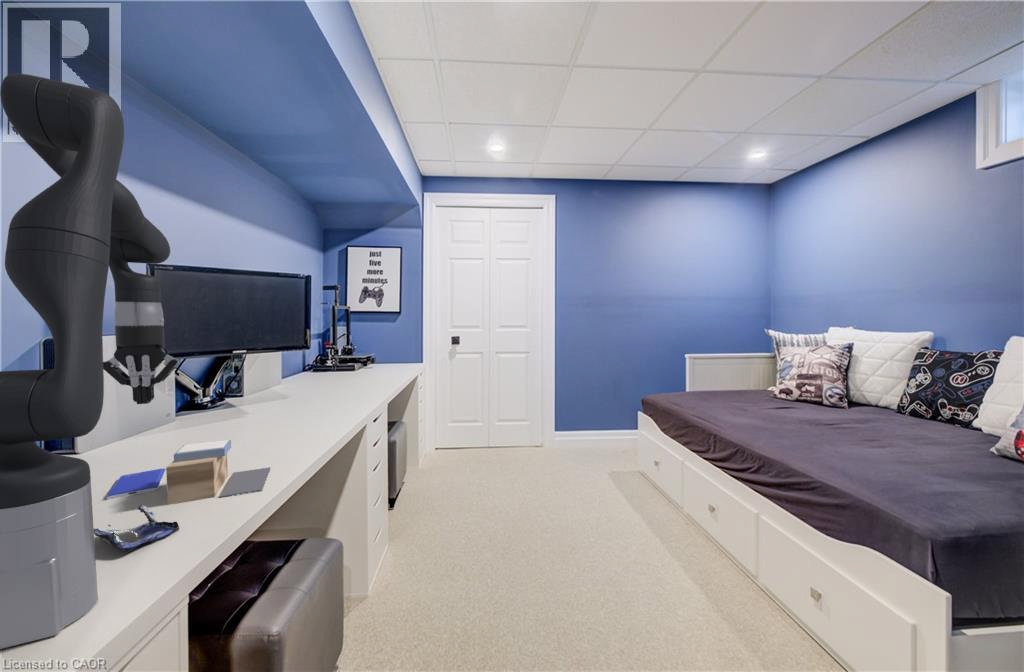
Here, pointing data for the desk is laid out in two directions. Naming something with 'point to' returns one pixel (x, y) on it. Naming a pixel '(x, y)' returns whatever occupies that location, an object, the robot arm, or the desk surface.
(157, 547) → the desk surface
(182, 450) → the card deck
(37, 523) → the robot arm
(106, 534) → the snack package
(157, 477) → the hard drive
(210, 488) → the oak step
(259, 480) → the rubber mat
